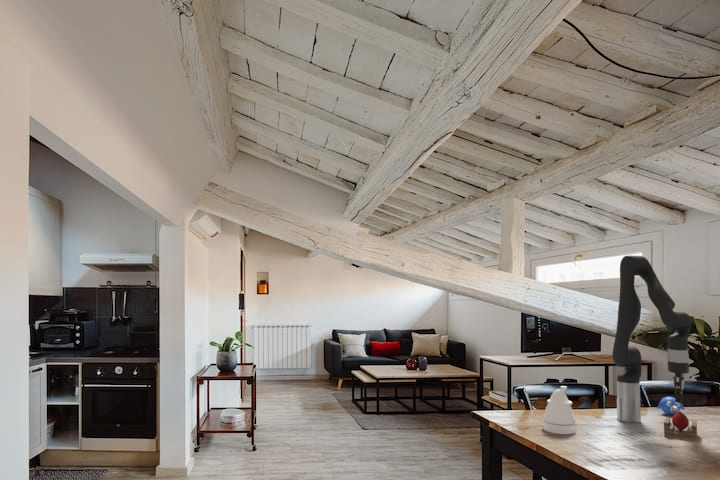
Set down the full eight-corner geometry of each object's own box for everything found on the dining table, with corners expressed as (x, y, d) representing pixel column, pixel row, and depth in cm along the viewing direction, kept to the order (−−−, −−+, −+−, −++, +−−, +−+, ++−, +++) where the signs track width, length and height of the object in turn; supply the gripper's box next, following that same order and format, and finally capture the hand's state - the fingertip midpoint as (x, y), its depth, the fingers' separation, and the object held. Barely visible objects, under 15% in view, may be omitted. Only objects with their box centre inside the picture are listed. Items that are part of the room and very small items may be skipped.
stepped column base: (696, 441, 208) (695, 426, 208) (664, 436, 214) (663, 422, 214) (697, 434, 218) (696, 421, 218) (666, 430, 224) (665, 417, 224)
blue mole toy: (663, 417, 248) (662, 399, 249) (654, 412, 260) (653, 394, 261) (691, 419, 246) (690, 400, 247) (680, 413, 258) (679, 395, 259)
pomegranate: (687, 429, 218) (686, 409, 219) (690, 433, 212) (689, 412, 213) (671, 428, 220) (670, 408, 220) (674, 431, 214) (673, 411, 215)
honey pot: (577, 428, 225) (576, 385, 226) (575, 435, 213) (574, 389, 215) (545, 424, 230) (544, 382, 232) (541, 431, 218) (541, 387, 220)
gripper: (668, 358, 227) (669, 396, 225) (666, 361, 215) (667, 402, 213) (689, 359, 223) (690, 399, 221) (688, 363, 211) (689, 405, 209)
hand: (679, 400), depth 217 cm, fingers open, 8 cm apart
